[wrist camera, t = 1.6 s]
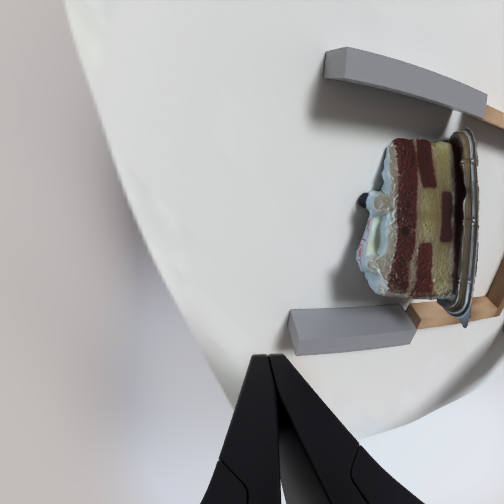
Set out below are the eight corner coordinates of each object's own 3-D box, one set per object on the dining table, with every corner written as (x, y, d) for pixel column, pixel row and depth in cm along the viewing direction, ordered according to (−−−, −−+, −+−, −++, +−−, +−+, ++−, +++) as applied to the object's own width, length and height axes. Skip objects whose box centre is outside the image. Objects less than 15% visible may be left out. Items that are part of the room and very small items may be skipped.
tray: (544, 137, 17) (560, 144, 15) (488, 303, 25) (499, 315, 23) (465, 99, 15) (485, 104, 14) (406, 313, 24) (416, 329, 22)
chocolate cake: (362, 98, 16) (368, 319, 13) (470, 115, 15) (501, 321, 11) (347, 177, 25) (342, 329, 22) (427, 185, 24) (432, 332, 20)
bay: (456, 88, 15) (487, 94, 12) (394, 318, 24) (409, 344, 21) (326, 51, 14) (347, 46, 11) (287, 325, 23) (295, 355, 20)
